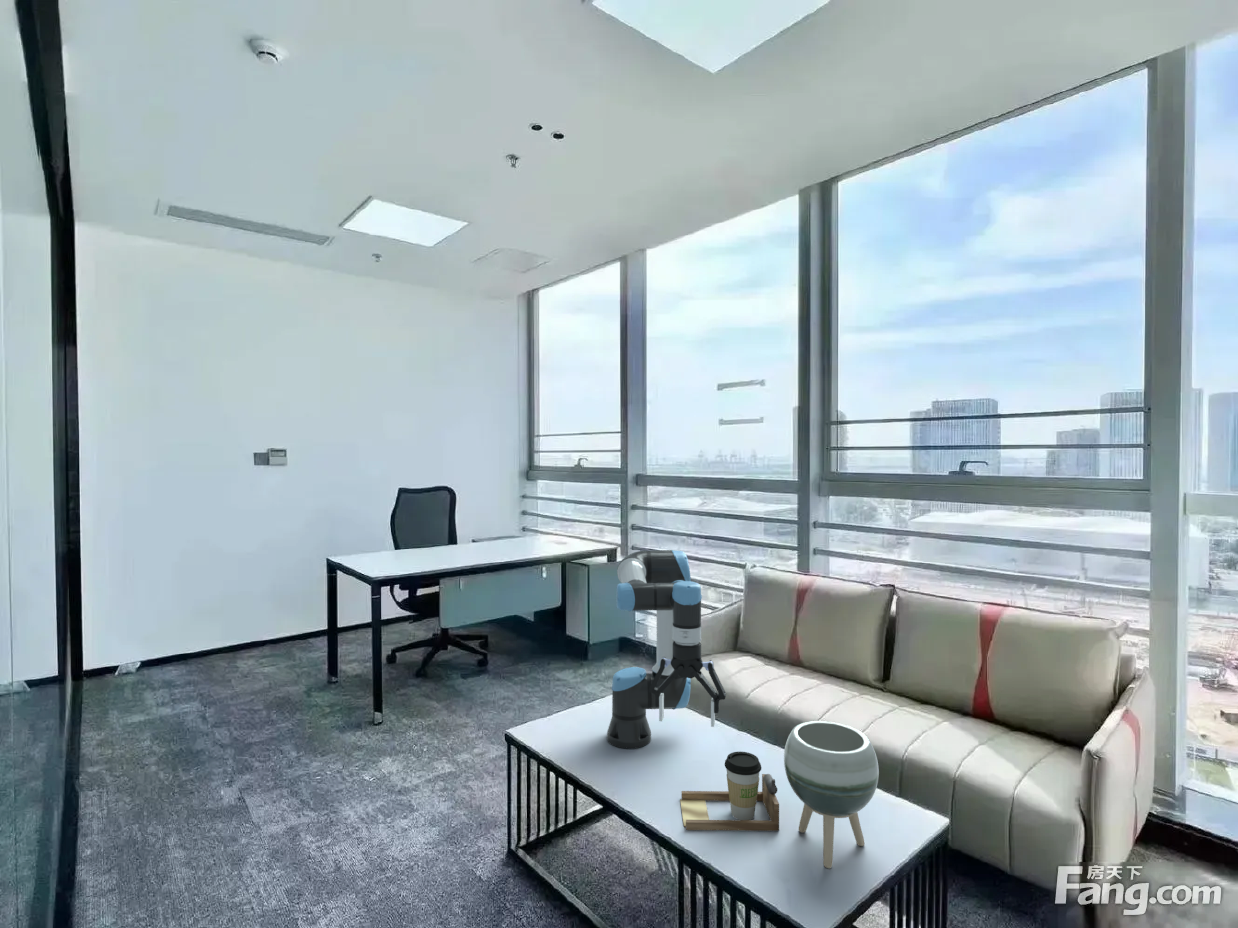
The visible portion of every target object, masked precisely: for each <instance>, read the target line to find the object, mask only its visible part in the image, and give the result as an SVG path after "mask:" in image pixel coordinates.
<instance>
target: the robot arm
mask: <svg viewBox="0 0 1238 928" xmlns="http://www.w3.org/2000/svg"><path fill="white" fill-rule="evenodd" d="M616 574H617V578H618V580H619V582H620V583H617V585H616V594H615V595H616V608H617V610H618V611H624V612H625V611H627V612H634V611H637V612H639V611H640V612H641V611H646V612H647V611H656V663H655V664H654V665H653V666H652V668H651V670H652V671H651V672H649V673H648V672H647V670H646V669H645V668H643V667H638V666H632V667H631V666H630V667H625V668H621V669H620V670H618V671H616V672H615V673H614V674H613V676H612V683H611V692H612V693H611V694H612V696H611V697H612V698H611V699H612V703H611V704H612V705H611V708H612V709H611V713H612V714H611V719H610V720H609V721H610V723H609V725H608V728H607V732H606V740H607V742H608V743H609V744H610V745H612V746H613V747H616V748H621V749H626V750H628V749H629V750H630V749H639V748H643V747H645V746H647V745H649V743H650V742H651V741H652V731H651V727H650V725H649V721H648V718H647V710H658V714H659V715H658V722H663V720H664V718H665V710H676V709H677V710H680V709H685V708H686V707H688V704H689V702H690V696H691V687H692V686H691V682H692V679H693V678H695V679H696V681H698V682H699V683H700V685H702V687H703V688H704V690H706V692H707V693H708V695H709V696H710V698H711V699H710V727H712V728H715V724H716V716H715V715H716V714H719V711H720V701H722V700H726V697H727V693H726V690H725V688H724V686H723V684H722V682H721V679H720V678H719V676H718V674H717V672H716V670H715V666H714V665H715V664H714V661H713V660H712V659H711V660H709V661H703V660H702V643H701V641H702V599H703V595H702V588H701V585H700V583H698V582H696V581H692V579H691V570H690V564H689V559H688V556H687V553H686V552H684V551H683V550H673V549H666V550H665V549H662V550H658V549H657V550H638V551H635V552H632V553H630V554H627V556H625V557H624V558H622V559H621V560H620V561H619V563H618V565H617V570H616ZM703 668H704V669H705V671H708V674H709V676H710V678H711V680H712V683H713V684H714V686H712V684H711V683H710V681H709V680H708V679H707V677H705V675H704V673H703V672H702V671H701V670H702V669H703ZM714 687H715V688H714Z"/></svg>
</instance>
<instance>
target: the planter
mask: <svg viewBox="0 0 1238 928" xmlns="http://www.w3.org/2000/svg"><path fill="white" fill-rule="evenodd" d="M783 752H784V753H783V765H784V766H783V767H784V771H785V775H786V779H787V780H788V783H789V786H790V787H791V789H792V791H793V792H794V794H795V795H796V797H798V799H799V800H800V801H801V802H802V803H803V808H802V812H801V817H800V819H799V826H798V832H800V833H801V834H803V833H806V832H807V829H808V826H809V824H810V820H811V818H812V815H813V813H816V814H818V815H821V816H822V826H823V827H822V830H823V833H822V834H823V837H822V838H823V839H822V841H823V842H822V846H823V847H822V849H823V850H822V851H823V852H822V853H823V857H822V858H823V859H822V860H823V862H822V864H823V867H824V868H826V869H831V868H832V867H833V858H834V857H833V856H834V838H835V836H834V835H835V819H845V818H848V820H849V823H850V826H851V829H852V832H853V835H854V839H855V842H856V844H857V845H858V846H859V847H864V846H865V845H866V844H865V837H864V833H863V831H862V826H861V822H860V818H859V814H858V813H859V812H860V811H861V810H863V809H864V808H865V807H866V806H868V804H869V803H870V801H871V800H872V799H873V798H874V795H875V793H876V791H877V786H878V783H879V776H880V775H879V774H880V771H879V763H878V762H879V761H878V756H877V754H876V751H875V748H874V746H873V744H872V743H871V741H870V739H869V737H868V736H867V735H866V734H865V733H864V732H862V731H860V730H858V729H857V728H855V727H853V726H851V725H847V724H844V723H840V722H835V721H828V720H810V721H804V722H802V723H798V724H797V725H795V726H794V727H793V728H792V730H791V731H790V733H789V734H788V737H787V740H786V742H785V746H784V751H783Z"/></svg>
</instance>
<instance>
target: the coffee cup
mask: <svg viewBox="0 0 1238 928" xmlns="http://www.w3.org/2000/svg"><path fill="white" fill-rule="evenodd" d="M724 767H725V769H726V781H727V791H728V792H729V801H728V802H729V803H730V812H731V816H732V817H733V818H734V819H735V820H754V818H755V813H756V805H757V802H758V801H757V794H758V792H759V783H760V772H761V771H762V764H761V762H760V759H759V758H758V756H757V755H755V754H753V753H751V752H748V751H733V752H731V753H729V754H728V755H727V757H726V759H725V760H724Z"/></svg>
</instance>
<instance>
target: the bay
mask: <svg viewBox="0 0 1238 928" xmlns="http://www.w3.org/2000/svg"><path fill="white" fill-rule="evenodd" d="M776 793H778V788H777V785H776V779H775V778H773V776H772V774H769V773H766V774H765V773H762V774H761V791H758V794H757V802H763V805H764V807H765V810H766V812H767V815H768V818H769V820H761V819H760V820H759V819H751V820H738V819H734V820H733V819H710V816H709V811H708V807H707V803H706V801H707V802H709V801H712V802H713V801H714V802H715V801H717V802H718V801H721V802H722V801H723V802H725V801H726V802H730V801H729V792H728V790H726V791H723V790H722V791H720V790H718V791H717V790H715V791H714V790H713V791H712V790H709V791H708V790H682V791H681V799H680V800H679V802H680V809H681V817H682V824H683V827H684V828H685V829H686V830H685V831H745V832H746V831H748V832H749V831H754V832H755V831H756V832H757V831H758V832H769V831H770V832H779V831H780V803H779V800H778V799H777V796H776Z"/></svg>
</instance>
